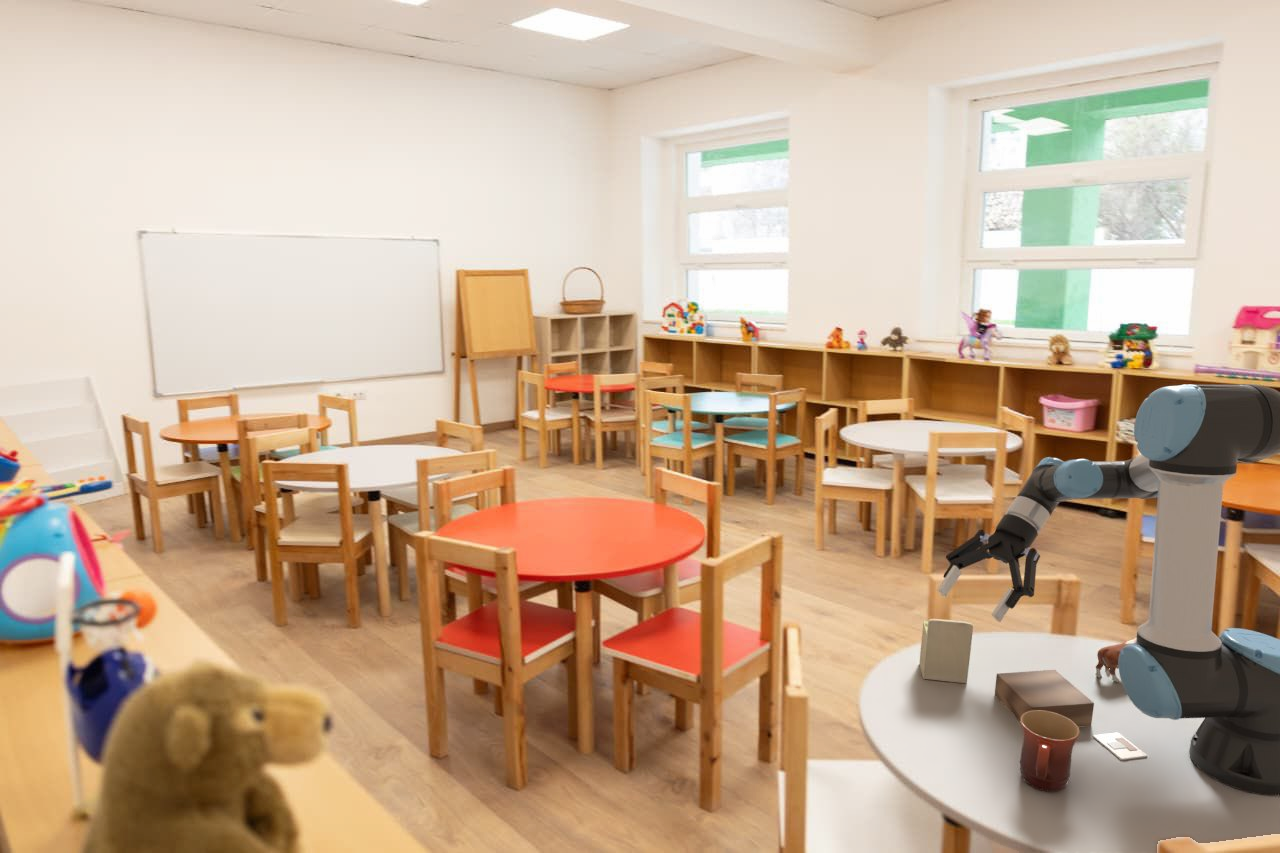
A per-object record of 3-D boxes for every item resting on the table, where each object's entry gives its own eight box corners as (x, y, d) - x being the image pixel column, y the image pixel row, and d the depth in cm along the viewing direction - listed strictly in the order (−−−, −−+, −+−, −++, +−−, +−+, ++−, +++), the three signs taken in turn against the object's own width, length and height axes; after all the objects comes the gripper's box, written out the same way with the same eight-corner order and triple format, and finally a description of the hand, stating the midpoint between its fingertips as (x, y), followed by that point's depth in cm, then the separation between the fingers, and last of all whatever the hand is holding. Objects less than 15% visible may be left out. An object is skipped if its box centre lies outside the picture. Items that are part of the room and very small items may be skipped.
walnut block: (1090, 727, 155) (1094, 703, 154) (1028, 732, 153) (1031, 707, 152) (1052, 692, 166) (1055, 669, 165) (994, 696, 165) (996, 673, 164)
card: (1147, 757, 145) (1147, 754, 145) (1121, 760, 145) (1121, 758, 144) (1117, 733, 152) (1117, 731, 152) (1092, 736, 151) (1093, 734, 151)
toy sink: (961, 666, 176) (967, 607, 173) (967, 684, 169) (973, 623, 166) (918, 662, 178) (923, 604, 175) (923, 680, 171) (927, 620, 168)
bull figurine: (1159, 677, 171) (1164, 640, 169) (1102, 685, 168) (1107, 648, 166) (1142, 666, 175) (1147, 630, 173) (1086, 674, 172) (1091, 638, 170)
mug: (1018, 758, 145) (1024, 704, 143) (1075, 774, 141) (1082, 719, 139) (1006, 797, 135) (1012, 740, 133) (1067, 816, 131) (1074, 757, 129)
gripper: (1084, 551, 170) (1028, 638, 166) (979, 515, 191) (928, 592, 187) (1070, 531, 166) (1013, 620, 162) (965, 497, 187) (912, 575, 183)
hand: (967, 605), depth 175 cm, fingers open, 13 cm apart
